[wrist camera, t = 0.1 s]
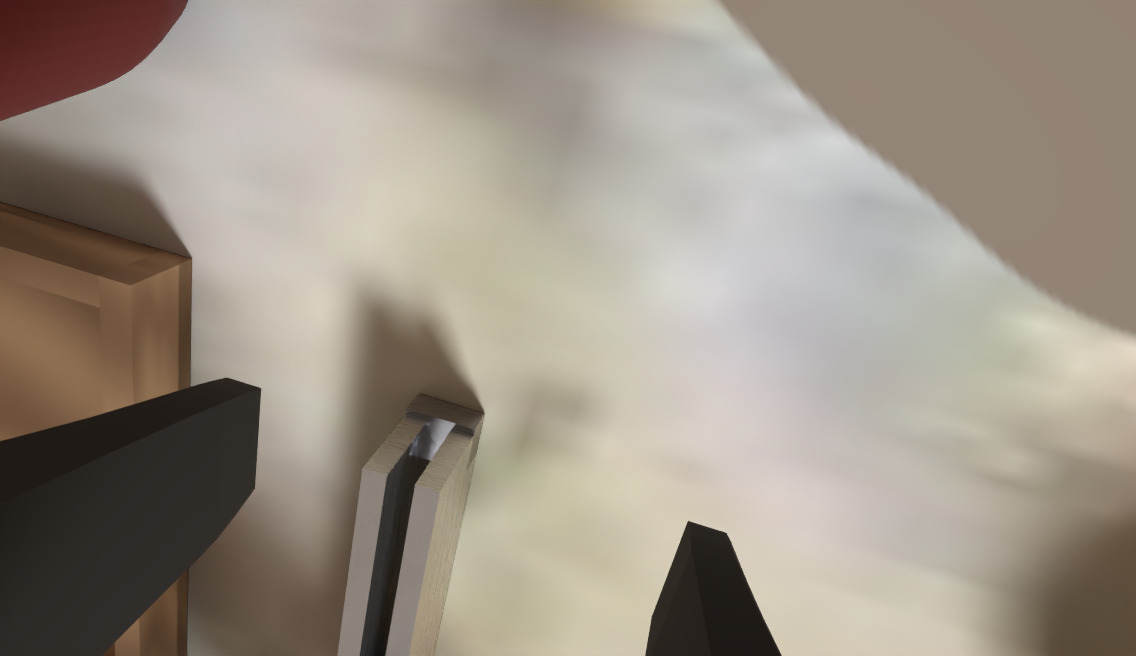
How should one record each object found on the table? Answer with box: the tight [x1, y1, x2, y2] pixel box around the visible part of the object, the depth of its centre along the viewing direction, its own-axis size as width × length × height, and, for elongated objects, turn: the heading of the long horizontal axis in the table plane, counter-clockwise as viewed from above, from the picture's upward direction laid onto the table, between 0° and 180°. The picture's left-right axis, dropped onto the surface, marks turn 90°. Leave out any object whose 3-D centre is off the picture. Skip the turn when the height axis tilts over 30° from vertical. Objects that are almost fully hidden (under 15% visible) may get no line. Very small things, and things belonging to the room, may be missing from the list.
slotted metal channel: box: [337, 394, 485, 656], centre depth 23 cm, size 13×2×4 cm, turn 167°
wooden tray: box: [0, 202, 192, 656], centre depth 25 cm, size 18×10×3 cm, turn 167°
